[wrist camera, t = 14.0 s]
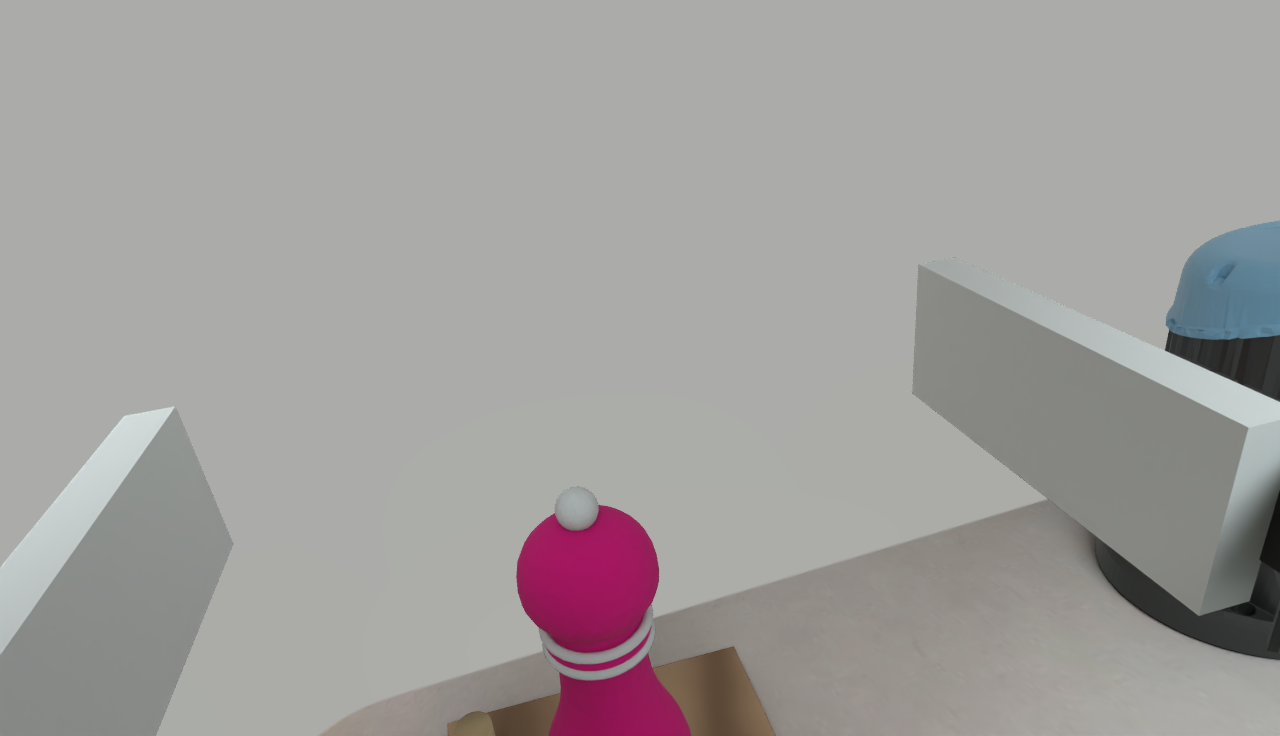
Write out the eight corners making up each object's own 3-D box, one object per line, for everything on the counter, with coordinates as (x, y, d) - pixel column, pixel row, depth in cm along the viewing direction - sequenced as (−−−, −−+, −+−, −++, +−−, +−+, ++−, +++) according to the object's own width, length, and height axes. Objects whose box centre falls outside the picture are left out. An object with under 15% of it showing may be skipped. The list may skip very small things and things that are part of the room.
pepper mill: (532, 847, 38) (444, 521, 30) (608, 734, 44) (553, 431, 35) (658, 917, 35) (600, 570, 26) (724, 785, 40) (694, 461, 32)
